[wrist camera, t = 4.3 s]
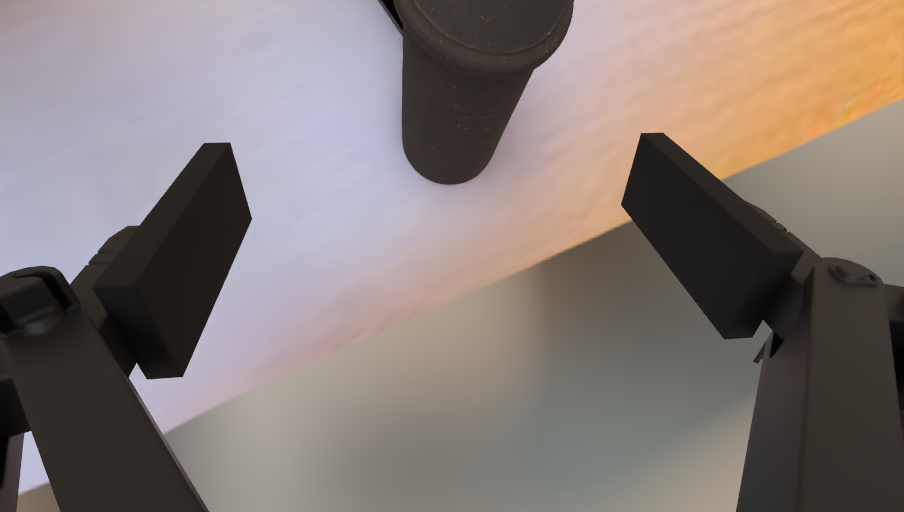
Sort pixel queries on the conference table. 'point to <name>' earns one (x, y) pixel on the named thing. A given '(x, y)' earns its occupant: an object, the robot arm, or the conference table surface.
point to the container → (469, 76)
